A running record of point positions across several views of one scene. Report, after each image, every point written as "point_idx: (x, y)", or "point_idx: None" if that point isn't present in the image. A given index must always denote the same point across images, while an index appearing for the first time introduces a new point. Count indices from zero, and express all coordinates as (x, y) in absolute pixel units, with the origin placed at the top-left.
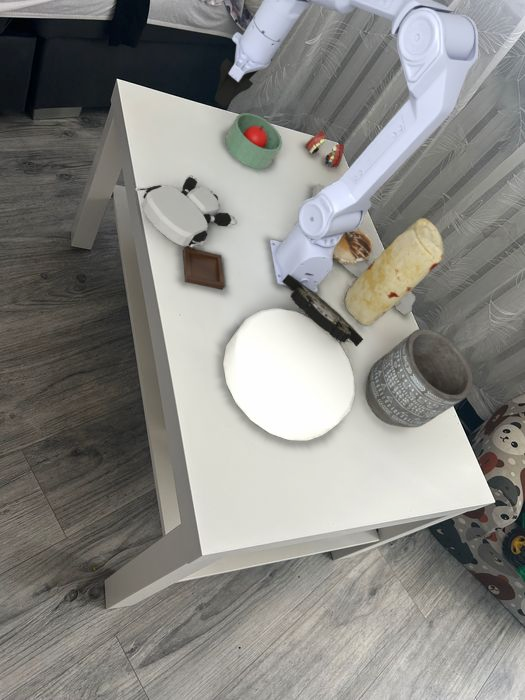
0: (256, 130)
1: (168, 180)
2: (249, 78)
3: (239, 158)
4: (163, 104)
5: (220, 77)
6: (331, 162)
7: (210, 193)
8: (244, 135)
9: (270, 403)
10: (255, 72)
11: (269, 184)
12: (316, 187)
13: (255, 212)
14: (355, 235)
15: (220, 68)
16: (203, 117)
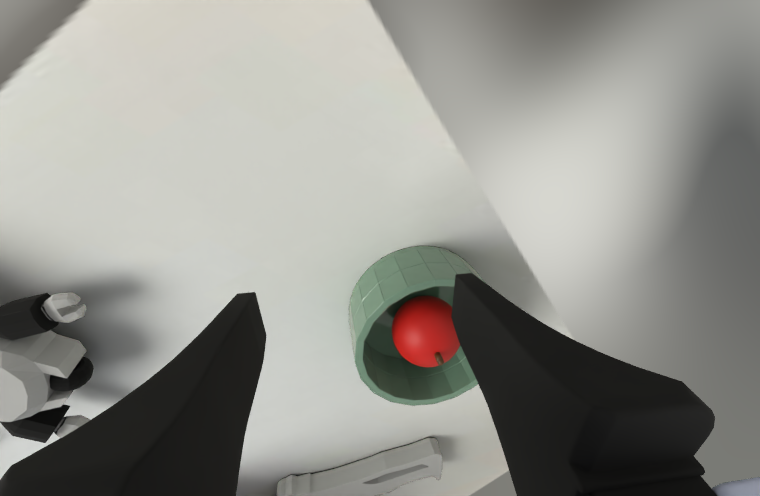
0: (423, 347)
1: (44, 239)
2: (477, 377)
3: (349, 314)
4: (345, 32)
5: (124, 397)
6: None
7: (19, 392)
8: (408, 309)
9: None
10: (496, 428)
11: (348, 385)
12: (423, 456)
13: None
14: None
15: (9, 468)
16: (421, 163)
